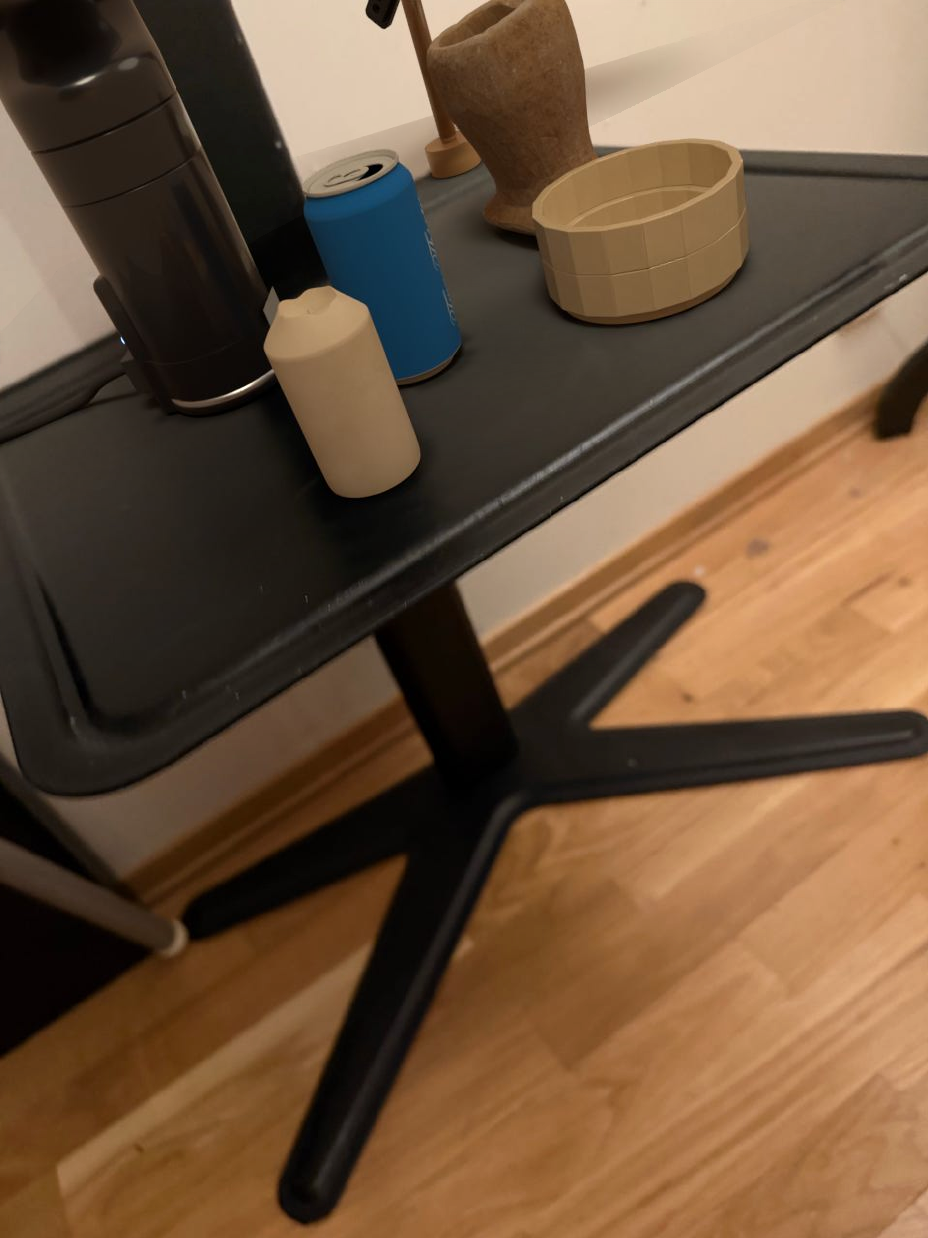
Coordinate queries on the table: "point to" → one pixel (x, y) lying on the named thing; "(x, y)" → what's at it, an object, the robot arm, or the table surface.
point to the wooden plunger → (438, 107)
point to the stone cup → (516, 98)
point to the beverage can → (384, 258)
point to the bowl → (644, 230)
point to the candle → (342, 392)
